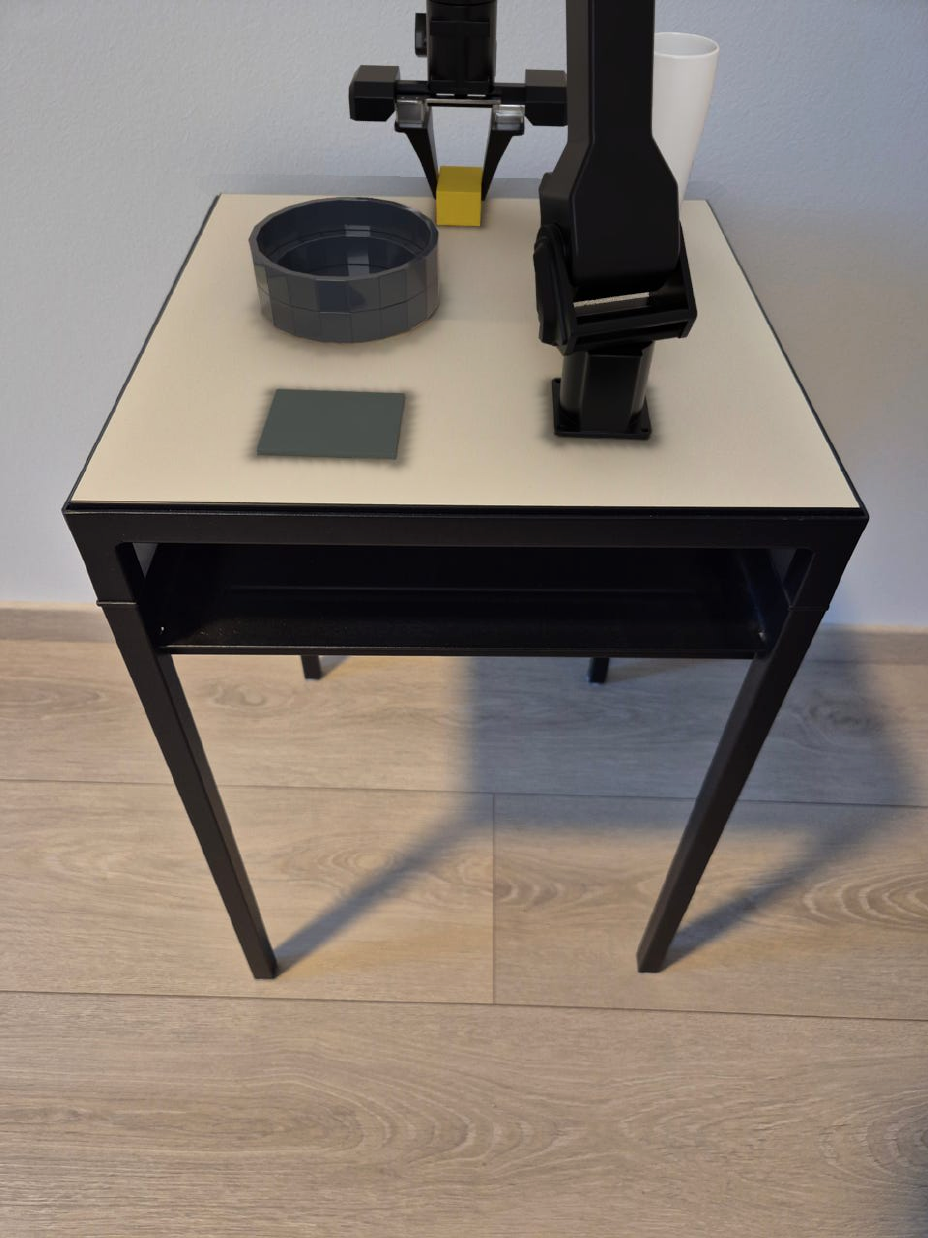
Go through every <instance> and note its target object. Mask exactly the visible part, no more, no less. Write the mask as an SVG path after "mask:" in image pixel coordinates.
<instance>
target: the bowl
mask: <svg viewBox="0 0 928 1238" xmlns="http://www.w3.org/2000/svg"><path fill="white" fill-rule="evenodd" d="M247 240H248V247H249V252H250V258H251V265H252V270H253V276H254V281H255V288H256V293H257V300H258V303H259V309H260V311H261V315H262V316H263V317H264V318H266V320H267V321H268V322H269V323H270V324H271V325H272V326H273V327H274V328H277V329H278V330H280V331H281V332H282V331H283V332H284V333H287V334H289V335H291V336H293V337H296V338H300V339H304V340H309V341H315V342H318V343H324V344H325V343H326V344H363V343H368V342H370V343H371V342H374V341H381V340H385V339H389V338H392V337H394V336H398V335H401V334H404V333H407V332H410V331H411V330H413V329H415V328H416V327H418V326H419V325H421V324H423V323H424V322H426V321H428V320H429V318H430V316H431V315H432V314H433V313H434V312H435V310H436V309H437V308H438V307H439V300H440V291H441V290H440V232H439V230H438V228H437V226H436V224H435V223H434V221H433V219H431V218H430V217H428V216H427V215H426V214H424V213H423V212H421V211H420V210H418V209H416V208H413V207H411V206H408V205H406V204H402V203H399V202H398V201H394V200H393V201H392V200H387V199H382V198H375V197H365V196H364V197H363V196H362V197H361V196H335V197H326V198H317V199H310V200H307V201H303V202H298V203H295V204H294V203H293V204H291V205H288V206H286V207H283V208H281V209H279V210H276V211H274V212H271V213H270V214H267V215H266V216H265V217H264V218H263V219H262V220H260V221H259V222H258V223H257V224H255V225H254V226H253V229H252V230H251V233H250V235H249V236H248V239H247Z"/></svg>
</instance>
